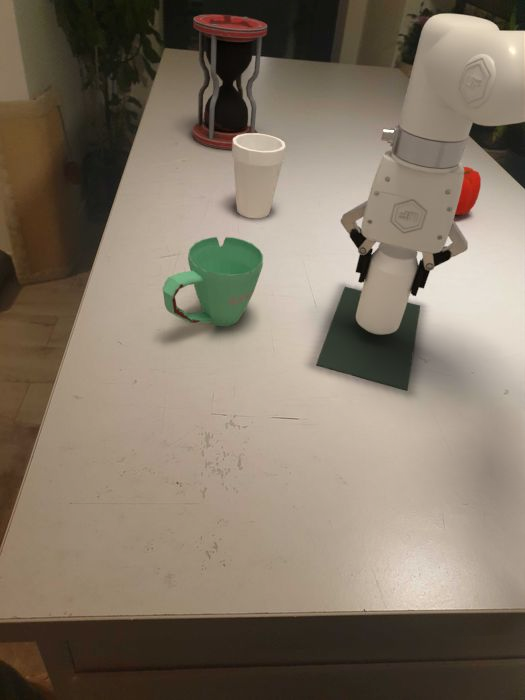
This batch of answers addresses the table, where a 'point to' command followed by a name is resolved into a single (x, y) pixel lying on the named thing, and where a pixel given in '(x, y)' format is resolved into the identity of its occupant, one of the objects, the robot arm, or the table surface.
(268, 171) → the foam cup
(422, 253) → the robot arm
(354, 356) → the mat
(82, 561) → the table surface
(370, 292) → the beverage can
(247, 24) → the hourglass
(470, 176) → the tomato
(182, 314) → the mug
